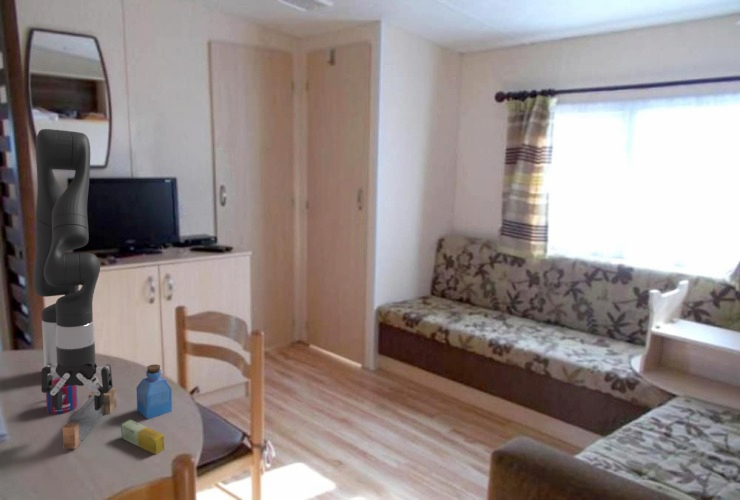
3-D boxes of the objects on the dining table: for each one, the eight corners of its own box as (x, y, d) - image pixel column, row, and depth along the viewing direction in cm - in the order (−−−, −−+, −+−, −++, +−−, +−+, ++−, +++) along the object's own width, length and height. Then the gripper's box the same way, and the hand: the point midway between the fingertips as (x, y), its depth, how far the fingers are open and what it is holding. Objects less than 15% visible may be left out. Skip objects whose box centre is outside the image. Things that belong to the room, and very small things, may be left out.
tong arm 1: (93, 413, 130) (92, 394, 129) (98, 413, 130) (97, 394, 129) (63, 448, 114) (62, 427, 113) (69, 448, 114) (68, 427, 114)
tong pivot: (96, 405, 135) (95, 385, 134) (116, 405, 135) (115, 385, 134) (89, 413, 130) (88, 392, 130) (110, 413, 131) (109, 392, 130)
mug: (46, 416, 128) (45, 390, 127) (47, 399, 137) (45, 375, 135) (77, 411, 132) (76, 385, 131) (76, 395, 140) (75, 371, 139)
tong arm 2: (99, 413, 130) (98, 394, 129) (104, 413, 130) (103, 394, 129) (69, 448, 114) (68, 427, 114) (75, 448, 114) (74, 427, 114)
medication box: (120, 439, 120) (119, 423, 120) (131, 434, 123) (130, 418, 122) (155, 455, 115) (154, 439, 114) (165, 450, 117) (165, 433, 116)
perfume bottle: (171, 411, 134) (171, 367, 132) (147, 419, 129) (146, 373, 127) (160, 403, 138) (159, 360, 136) (137, 410, 134) (136, 366, 132)
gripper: (115, 336, 120) (117, 401, 123) (49, 334, 119) (53, 400, 122) (102, 348, 113) (104, 417, 116) (32, 347, 111) (36, 417, 114)
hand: (78, 408), depth 119 cm, fingers open, 8 cm apart
